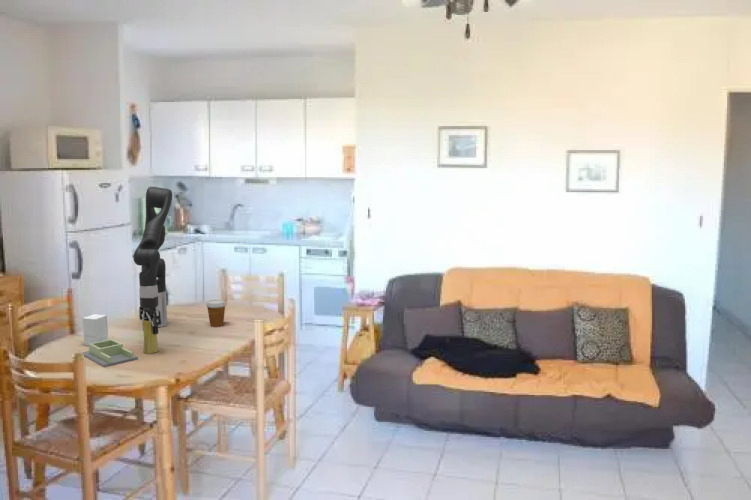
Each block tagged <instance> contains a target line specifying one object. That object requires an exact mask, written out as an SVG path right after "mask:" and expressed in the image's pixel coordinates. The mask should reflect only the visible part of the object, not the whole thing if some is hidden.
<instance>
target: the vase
mask: <svg viewBox="0 0 751 500" xmlns="http://www.w3.org/2000/svg"><path fill="white" fill-rule="evenodd" d="M152 326H153V325H152V323H151V322H150V321H149V319H148V318H145V319H143V322H142V330H143V353H144V354H156V353H157V352H159V343H158V334H155V335H154V334H153V329H152Z"/></svg>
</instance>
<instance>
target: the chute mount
mask: <svg viewBox="0 0 751 500" xmlns="http://www.w3.org/2000/svg"><path fill="white" fill-rule="evenodd" d="M82 353H83V354H84V355H85V356H86V357H85V356H84V357H85V358H87V359H89V360H90V359H91V360H90V361H92V360H93V361H92V362H94V361H95V362H94V363H96V364H98V365H100V366H101V365H102V366H101V367H103V366H104V367H103V368H107V367H106V366H108V367H111V365H112V366H115V365H119V364H124V363H128V362H133V361H137V360H138V359H139V357H138V356H136V355H135V354H134V352H133V351H131V350H130V349H126V348H125V347H124V345H123V343H122V342H120V341H118V340H115V339H112V338H111V339H108V340H105V341H101V342H96V343H91V344H89V346H88V350H87V351H84V352H81V354H82Z"/></svg>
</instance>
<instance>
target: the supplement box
mask: <svg viewBox="0 0 751 500" xmlns="http://www.w3.org/2000/svg"><path fill="white" fill-rule="evenodd" d="M82 326H83V327H82V329H83V341H84V345H85V346H88V347H89V344H91V343H96V342H101V341H105V340H109V330H108V329H109V328H108V315H106V314H97V313H94V314H91V315H88V316H85V317H82Z"/></svg>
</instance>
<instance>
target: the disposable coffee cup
mask: <svg viewBox="0 0 751 500" xmlns="http://www.w3.org/2000/svg"><path fill="white" fill-rule="evenodd" d="M226 305H227V302H226V301H225V300H224V299H210V300H208V301H206V308H207V314H208V319H209V325H210V327H213V328H218V327H222V326H224V324H225V323H224V321H225V313H226V312H225V311H226Z"/></svg>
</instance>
